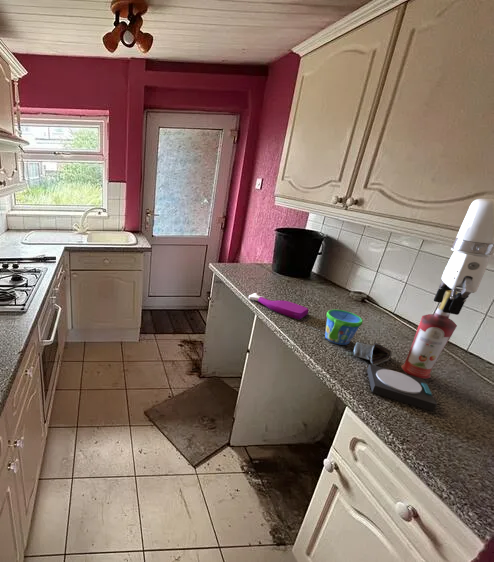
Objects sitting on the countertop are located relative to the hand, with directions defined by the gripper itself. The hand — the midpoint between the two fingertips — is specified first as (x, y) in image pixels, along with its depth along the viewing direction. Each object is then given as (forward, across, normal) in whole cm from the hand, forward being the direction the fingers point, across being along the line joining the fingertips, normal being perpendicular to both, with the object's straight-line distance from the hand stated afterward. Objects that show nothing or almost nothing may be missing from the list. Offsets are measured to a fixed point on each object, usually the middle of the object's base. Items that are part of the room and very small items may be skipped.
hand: (445, 307), depth 88 cm
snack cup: (+23, +10, +20) cm, 32 cm away
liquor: (+23, 0, 0) cm, 23 cm away
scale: (+23, -12, +6) cm, 27 cm away
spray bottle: (+23, +28, +42) cm, 56 cm away
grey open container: (+23, +4, +11) cm, 26 cm away
